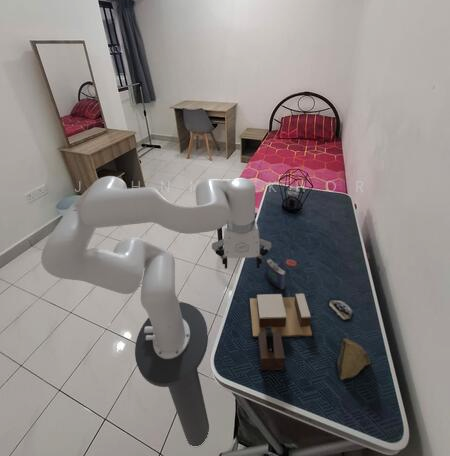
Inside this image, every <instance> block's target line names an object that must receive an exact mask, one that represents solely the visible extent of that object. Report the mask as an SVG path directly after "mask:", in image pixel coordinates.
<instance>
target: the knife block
mask: <svg viewBox="0 0 450 456" xmlns="http://www.w3.org/2000/svg"><path fill="white" fill-rule="evenodd" d="M273 341H274V349H272V352H271V353H270V349H267V342H266V333H265V332H259V333H258V337H257V346H258V347H257V348H258V355H259V366H260V371H284V369H285V360H286V356H285V355H286V354H285V351H284V346H283V340H282V337H281V334H280V332H273Z"/></svg>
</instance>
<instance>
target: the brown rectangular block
mask: <svg viewBox="0 0 450 456" xmlns="http://www.w3.org/2000/svg"><path fill="white" fill-rule="evenodd" d="M294 297H295V303H294V304H295V308H296V312H297V316H298V320H299V324H300V327H309V325H310V322H311V317H312V316H311V312H310V310H309V306H308V302H307V300H306V296H305V293H295V296H294Z"/></svg>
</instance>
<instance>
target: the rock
mask: <svg viewBox="0 0 450 456" xmlns="http://www.w3.org/2000/svg"><path fill="white" fill-rule="evenodd" d="M368 365H371V359H370V356H369V354H368V353H367V352H366V350H365V349H364V348H363V346H361V345H360V344H358V343H357V342H356V341H353V340H350V339H348V338H343V339H342V341H341V346H340V354H339V357H338V360H337V371H338V372H337V373H338V376H339V379H340V381H343V380H346V379H351V378H354V377H355V376H357V375H359V373H360V371H361V370H363V369H364V368H365V367H366V366H368Z"/></svg>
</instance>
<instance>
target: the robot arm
mask: <svg viewBox="0 0 450 456" xmlns="http://www.w3.org/2000/svg"><path fill="white" fill-rule="evenodd" d="M195 202H196V205H191V206H190V205H189V206H184V205H177V204H176V203H175V204H174V203H173V202H170V201H168V200H167V199H166V198H165V197H164V196H163V195H162V194H161V193H160V192H159V190H158V189H157V188H156V187H154V186H144V187H133V188H128V186H127V184H126V182H125V181H124V179H122V178H120V177H118V176H114V175H107V176H103V177H100V178H98V179H97V180H95V181H93V183H92V184H91V185H90V186H89V187H88V188H87V189H86V190H85V191H84V192H83V193H82V194H81V195H80V196H79V197H78V198H77V199H76V200H75V201H74V202H73V203H72V204H71V205H70V206H69V207H68V209H67V210H66V211H65V213H64V214H63V216H62V217H61V219H60V220H59V222H58V223H57V224H56V226H55V228H54V229H53V231H52V232H51V234H50V235H49V237H48V238H47V240H46V242H45V244H44V247H43V249H42V252H41V256H40V257H41V258H40V261H41V265H42V267H43V269H44V270H45V271H46V272H47V273H48V274H50V275H51V276H54V277H55V278H59V279H62V280H71V281H80V282H85V283H88V284H91V285H93V286H96V287H100V288H102V289H105V290H109V291H111V292H115V293H118V294H122V295H130V294H134V293H135V292H136V291H137V290H138V289H139V287H140V285H141V288H140V304H141V306H142V307H143V309H144V310H145V311H146V313H147V316H148V318H149V319H150V321H151V324H152V327H151V326H145V329H144V333H153V334H154V335H147V336H146V340H153V347H154V350H155V352H156V354H157V355H158V356H159V357H161V358H163V359H173V358H175V357H177V356H179V355H180V354H181V353H182V352H183V351H184V350H185V349H186V347H187V345H188V343H189V340H190V329H189V326H188V324H187V322H186V321H185V320H184V319H182V314H181V310H180V305H179V298H178V296H177V294H176V262H175V261H176V260H175V259H176V258H175V257H174V255H173V253H172V252H171V251H169V250H167V249H165V248H164V247H161V246H160V245H157V244H154V243H152V242H150V241H148V240H146V239H144V238H140V237H137V236H135V237H134V236H129V237H125V238H123V239H121V240H119V241H118V242H117V243H116V245H115V246H114V249H113V251H112V250H109V249H107V248H105V247H104V248H103V247H91V248H88V247H89V245H90V242H91V240H92V238H93V237H94V234H95V232H96V229H100V228H101V229H102V228H110V227H111V228H112V227H120V226H130V225H131V226H132V225H139V224H147V223H150V224H151V223H152V224H153V223H154V224H156V225H159V226H160V227H163V228H164V229H167V230H170V231H173V232H176V233H179V234H185V235H187V234H188V235H192V234H202V233H209V232H214V231H217V230H220V229H222V228H223V227H224V229H223V238H222V239H220V240H217V241H215V242H213V243H212V244H211V249H212V250H213V251H214V252H215V254H216V255H217V256H219V257H220V259H221V263H222V265H224V269H225V270H226V269H228V259H229V258H231V259H238V258H239V259H247V258H250V259H251V258H255V263H256V268H257V269H260V266H261V265H262V263H263V262H262V260H263V259H264V257H265V256H266V255H267V254H268V253H269V251H270V250H271V249H272V247H273V246H272V242H271V241H269V240H265V239H263V238H260V232H259V231H260V230H259V227H258V226H259V225H258V223H257V221H256V185H255V183H254V182H253V181H252V180H251V179H248V178H245V177H235V178H233V179H222V178H221V179H220V178H219V179H218V178H207V179H203V180H201V181H199V182H198V183H197V185H196V187H195ZM221 247H223V248H221ZM261 247H262V248H261ZM187 336H188V337H187ZM160 353H161V354H160Z"/></svg>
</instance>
